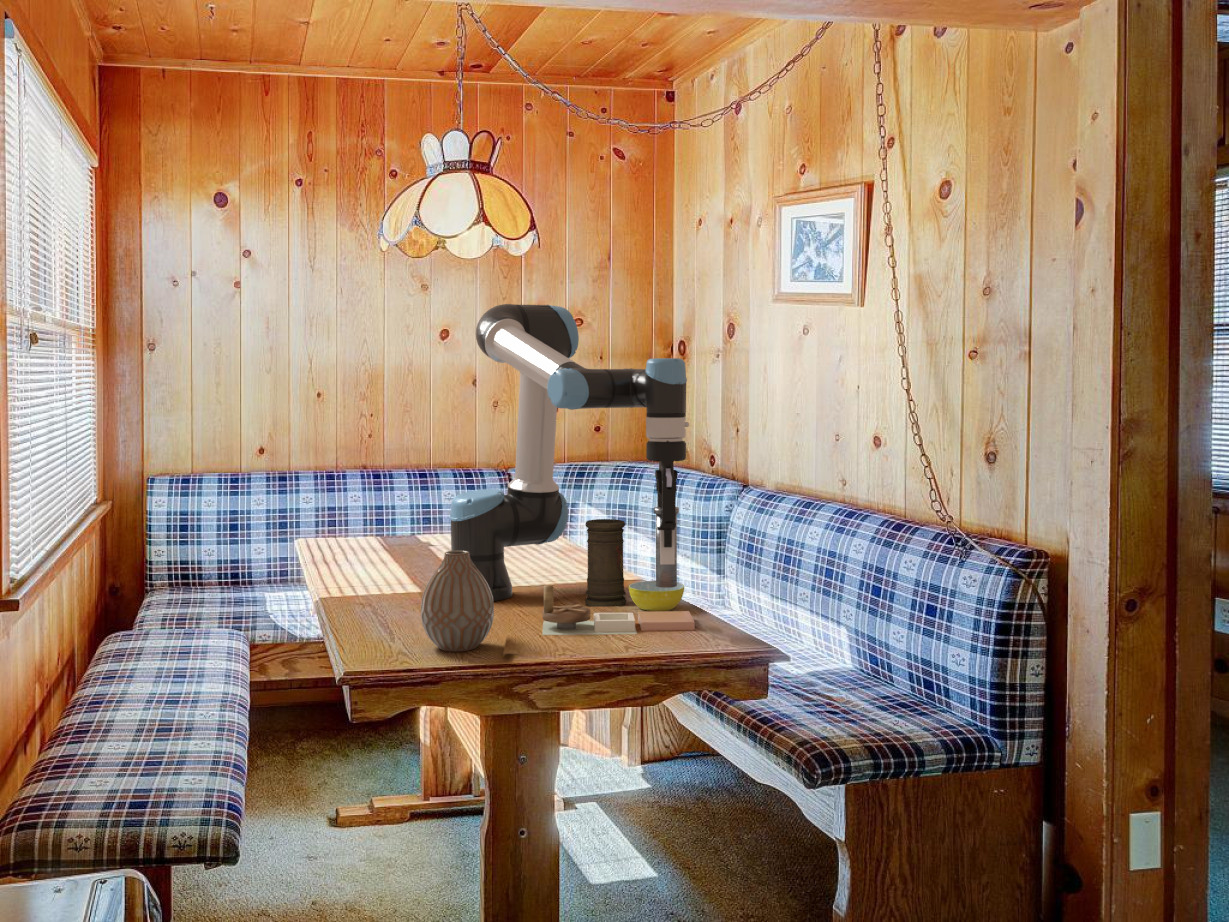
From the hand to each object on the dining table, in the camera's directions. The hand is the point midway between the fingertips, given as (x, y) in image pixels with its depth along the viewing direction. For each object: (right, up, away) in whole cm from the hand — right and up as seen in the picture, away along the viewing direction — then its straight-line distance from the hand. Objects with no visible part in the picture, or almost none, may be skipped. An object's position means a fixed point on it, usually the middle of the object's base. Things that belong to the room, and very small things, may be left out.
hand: (666, 561), depth 228 cm
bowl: (-1, -13, +17) cm, 21 cm away
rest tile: (0, -14, +1) cm, 14 cm away
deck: (-15, -14, -1) cm, 20 cm away
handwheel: (-19, -11, -2) cm, 22 cm away
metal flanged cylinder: (0, -5, 0) cm, 5 cm away
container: (-12, -12, +29) cm, 33 cm away
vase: (-38, -15, -11) cm, 43 cm away
